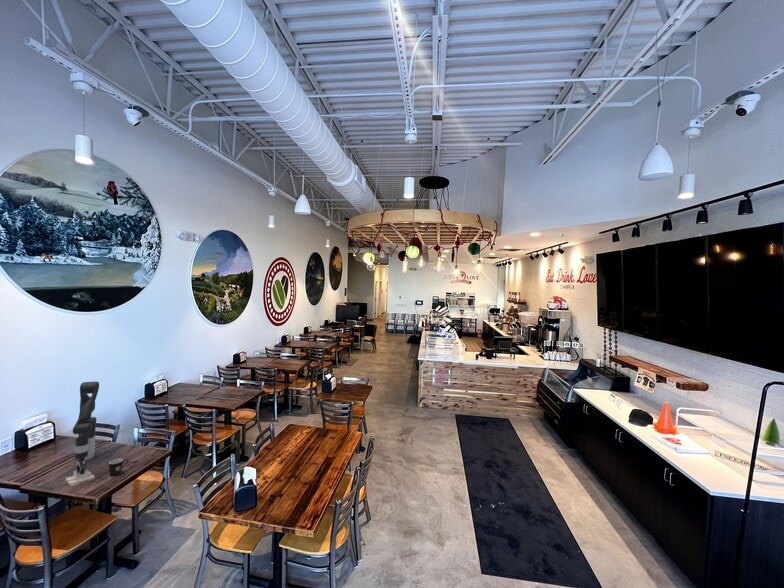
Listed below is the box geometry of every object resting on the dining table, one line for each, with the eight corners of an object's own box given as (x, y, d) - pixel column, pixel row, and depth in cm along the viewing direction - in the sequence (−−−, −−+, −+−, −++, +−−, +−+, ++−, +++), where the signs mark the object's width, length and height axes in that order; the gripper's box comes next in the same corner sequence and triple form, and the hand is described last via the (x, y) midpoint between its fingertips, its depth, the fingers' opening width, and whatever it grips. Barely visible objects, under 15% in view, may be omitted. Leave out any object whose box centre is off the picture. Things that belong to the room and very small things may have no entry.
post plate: (65, 479, 242) (65, 470, 242) (88, 472, 252) (88, 463, 253) (71, 487, 233) (71, 478, 233) (95, 479, 244) (95, 470, 244)
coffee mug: (107, 478, 245) (108, 465, 245) (108, 473, 252) (109, 460, 252) (127, 474, 252) (127, 461, 252) (128, 469, 259) (128, 456, 259)
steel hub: (73, 477, 242) (73, 471, 242) (84, 474, 247) (85, 467, 247) (75, 480, 238) (76, 473, 238) (87, 476, 244) (87, 470, 244)
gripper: (91, 451, 242) (90, 473, 242) (85, 446, 250) (84, 467, 250) (77, 455, 236) (76, 477, 236) (71, 449, 244) (70, 471, 243)
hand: (80, 472), depth 243 cm, fingers open, 8 cm apart
